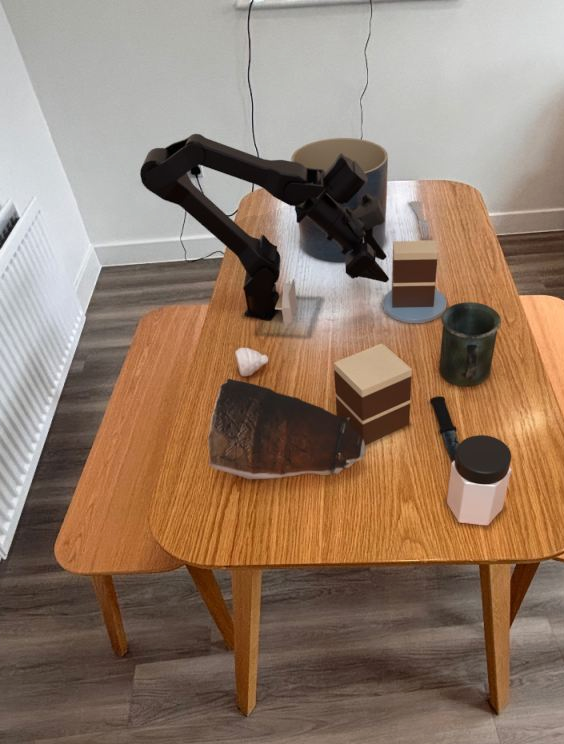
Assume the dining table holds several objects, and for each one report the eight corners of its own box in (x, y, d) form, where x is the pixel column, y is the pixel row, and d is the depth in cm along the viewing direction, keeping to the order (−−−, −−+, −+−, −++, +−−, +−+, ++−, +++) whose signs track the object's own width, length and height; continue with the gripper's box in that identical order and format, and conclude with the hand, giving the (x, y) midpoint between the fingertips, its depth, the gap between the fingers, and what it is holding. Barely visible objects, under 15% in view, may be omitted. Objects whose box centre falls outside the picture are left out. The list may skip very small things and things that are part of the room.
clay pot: (370, 444, 96) (206, 410, 95) (352, 516, 107) (204, 486, 106) (377, 392, 107) (231, 360, 106) (360, 462, 118) (227, 434, 117)
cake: (336, 418, 118) (333, 362, 109) (381, 398, 122) (382, 342, 112) (363, 446, 113) (361, 390, 104) (409, 425, 117) (412, 369, 107)
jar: (468, 479, 107) (476, 425, 98) (510, 501, 104) (523, 448, 95) (437, 510, 103) (443, 457, 94) (480, 535, 100) (490, 483, 90)
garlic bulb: (272, 376, 127) (269, 353, 123) (242, 382, 126) (238, 359, 122) (266, 360, 130) (262, 337, 126) (237, 366, 129) (233, 343, 125)
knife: (429, 397, 119) (445, 395, 120) (429, 403, 121) (444, 400, 121) (456, 476, 106) (473, 473, 106) (455, 481, 107) (473, 479, 107)
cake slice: (392, 307, 140) (393, 253, 130) (391, 295, 143) (392, 241, 133) (433, 307, 139) (438, 252, 130) (432, 294, 143) (436, 240, 133)
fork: (418, 211, 176) (418, 200, 174) (431, 239, 161) (432, 227, 159) (408, 212, 176) (408, 201, 174) (420, 239, 161) (421, 228, 159)
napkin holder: (276, 323, 139) (272, 292, 134) (283, 306, 144) (279, 275, 138) (292, 324, 139) (288, 293, 133) (298, 306, 143) (295, 276, 138)
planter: (290, 228, 167) (282, 145, 151) (371, 215, 170) (371, 132, 155) (310, 270, 153) (303, 183, 138) (398, 255, 156) (401, 168, 141)
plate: (374, 316, 140) (374, 312, 139) (394, 284, 148) (394, 280, 147) (436, 328, 136) (436, 324, 135) (453, 294, 144) (454, 290, 144)
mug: (489, 354, 130) (497, 301, 120) (496, 401, 120) (506, 347, 111) (435, 354, 130) (439, 301, 121) (438, 401, 121) (444, 347, 111)
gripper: (362, 210, 116) (418, 265, 125) (358, 168, 128) (410, 221, 137) (321, 253, 122) (378, 303, 131) (321, 209, 134) (373, 257, 143)
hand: (386, 269), depth 135 cm, fingers open, 9 cm apart
